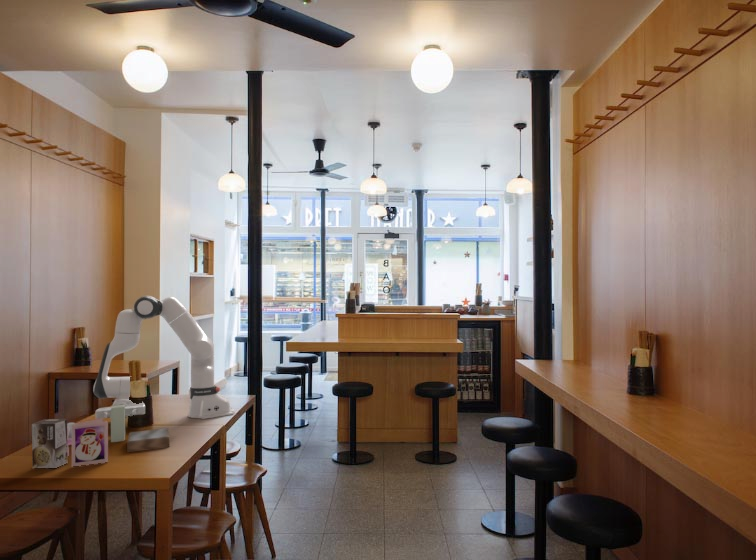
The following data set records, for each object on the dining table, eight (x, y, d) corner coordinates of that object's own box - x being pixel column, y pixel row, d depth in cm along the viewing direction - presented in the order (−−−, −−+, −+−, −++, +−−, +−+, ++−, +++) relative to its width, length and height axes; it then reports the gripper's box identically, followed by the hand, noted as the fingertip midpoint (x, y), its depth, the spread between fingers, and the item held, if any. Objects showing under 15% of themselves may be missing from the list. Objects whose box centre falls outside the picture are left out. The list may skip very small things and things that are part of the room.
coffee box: (68, 463, 184) (68, 418, 185) (55, 469, 178) (55, 423, 178) (45, 463, 185) (44, 418, 186) (31, 469, 179) (31, 423, 179)
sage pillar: (125, 437, 217) (124, 404, 217) (124, 440, 212) (124, 407, 212) (111, 439, 215) (111, 405, 215) (110, 442, 210) (110, 408, 210)
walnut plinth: (168, 437, 216) (168, 427, 216) (169, 446, 202) (169, 436, 202) (129, 441, 210) (129, 432, 210) (127, 452, 196) (127, 441, 196)
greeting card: (71, 468, 179) (71, 425, 179) (74, 461, 186) (74, 420, 186) (107, 463, 184) (107, 421, 184) (109, 457, 190) (109, 417, 191)
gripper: (96, 404, 232) (92, 410, 220) (145, 399, 241) (144, 405, 228) (96, 418, 232) (92, 425, 220) (145, 413, 240) (145, 419, 228)
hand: (119, 414), depth 224 cm, fingers open, 8 cm apart
